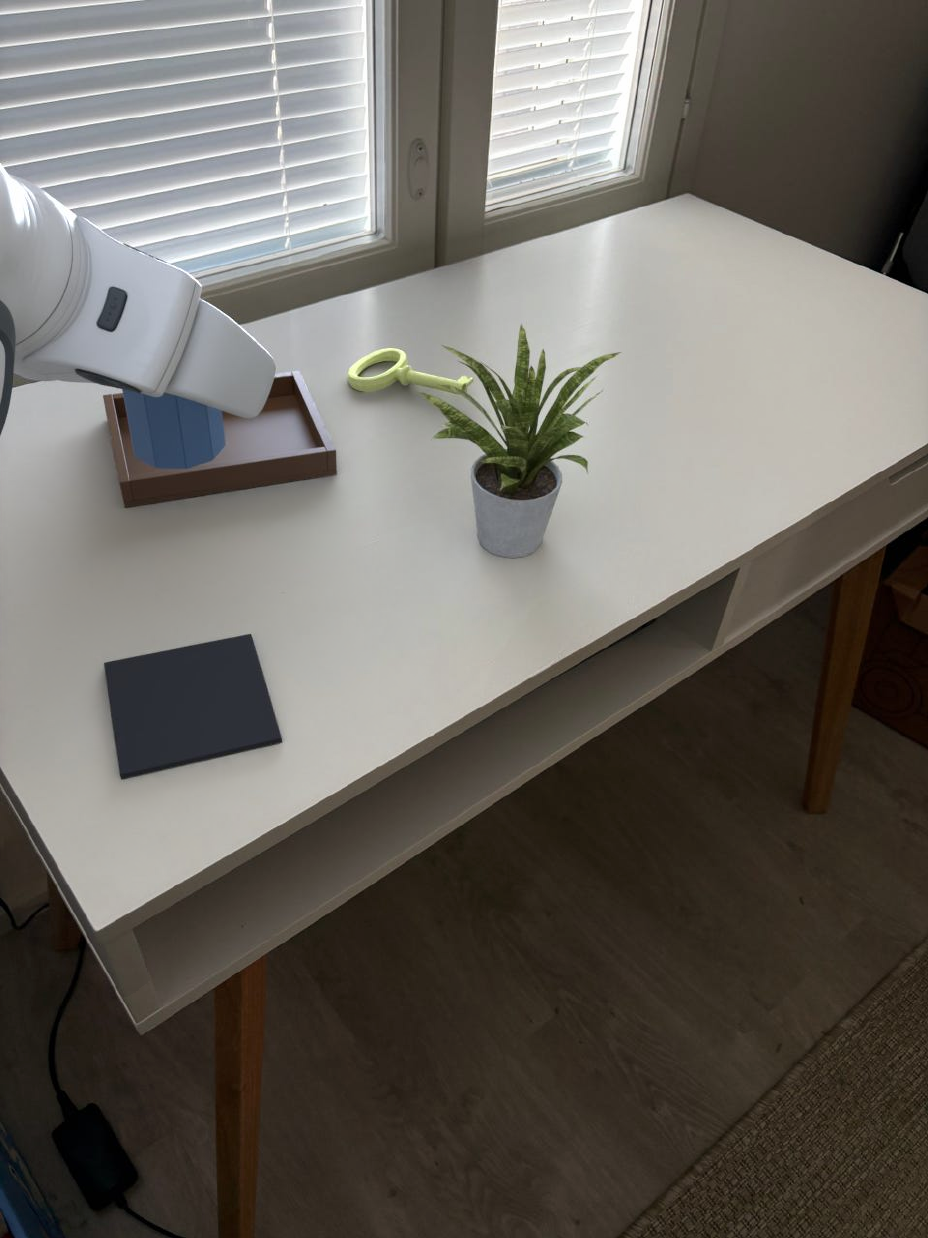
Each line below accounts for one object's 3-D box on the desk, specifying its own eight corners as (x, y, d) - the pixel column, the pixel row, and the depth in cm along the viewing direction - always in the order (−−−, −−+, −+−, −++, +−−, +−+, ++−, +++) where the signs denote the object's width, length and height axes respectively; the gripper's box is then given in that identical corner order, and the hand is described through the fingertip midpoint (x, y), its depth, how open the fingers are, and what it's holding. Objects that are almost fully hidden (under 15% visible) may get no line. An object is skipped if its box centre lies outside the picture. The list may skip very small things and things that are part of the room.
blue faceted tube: (139, 476, 66) (116, 350, 60) (128, 425, 70) (105, 303, 64) (231, 462, 68) (218, 339, 62) (215, 414, 72) (200, 294, 66)
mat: (121, 779, 62) (119, 774, 62) (105, 667, 69) (103, 662, 68) (282, 742, 65) (281, 737, 64) (251, 638, 72) (251, 633, 71)
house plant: (532, 461, 90) (553, 285, 78) (639, 545, 82) (679, 363, 71) (397, 512, 83) (400, 329, 72) (499, 609, 75) (519, 420, 64)
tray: (124, 507, 82) (119, 482, 80) (107, 419, 91) (102, 394, 89) (337, 474, 87) (336, 449, 85) (300, 393, 96) (299, 370, 94)
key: (468, 407, 95) (469, 387, 94) (341, 389, 97) (341, 369, 95) (480, 370, 101) (482, 351, 99) (360, 354, 102) (360, 334, 100)
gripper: (-133, 297, 56) (34, 378, 69) (172, 399, 50) (290, 465, 63) (-94, 189, 56) (66, 291, 69) (216, 279, 50) (325, 371, 63)
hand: (176, 375), depth 66 cm, fingers closed on blue faceted tube, 6 cm apart
